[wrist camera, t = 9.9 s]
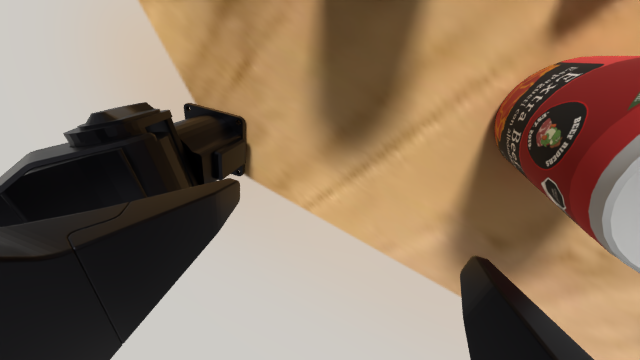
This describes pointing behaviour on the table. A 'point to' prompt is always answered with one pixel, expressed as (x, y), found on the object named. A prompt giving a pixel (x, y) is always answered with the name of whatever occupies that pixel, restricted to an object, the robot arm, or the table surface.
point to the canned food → (582, 144)
